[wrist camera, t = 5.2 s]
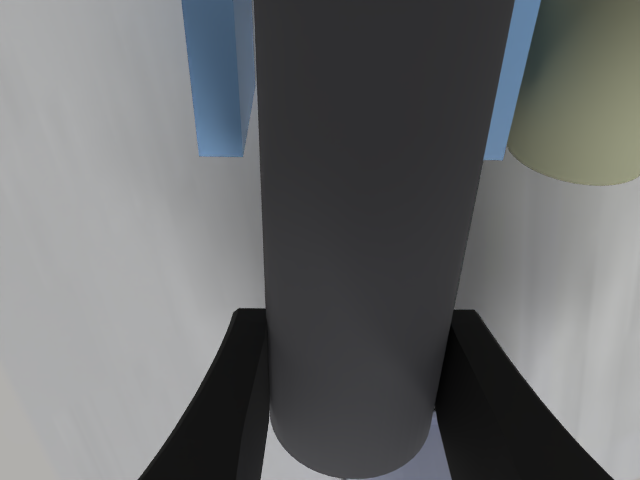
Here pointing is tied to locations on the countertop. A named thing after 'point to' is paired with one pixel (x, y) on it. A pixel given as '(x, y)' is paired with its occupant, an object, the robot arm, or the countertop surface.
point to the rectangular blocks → (239, 73)
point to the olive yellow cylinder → (581, 93)
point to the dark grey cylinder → (367, 212)
